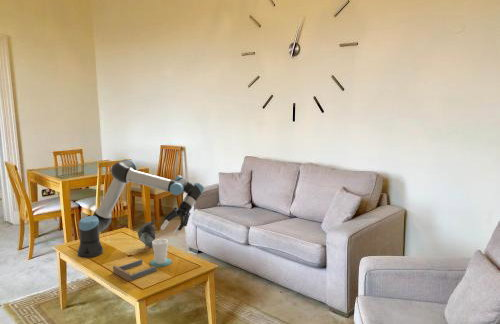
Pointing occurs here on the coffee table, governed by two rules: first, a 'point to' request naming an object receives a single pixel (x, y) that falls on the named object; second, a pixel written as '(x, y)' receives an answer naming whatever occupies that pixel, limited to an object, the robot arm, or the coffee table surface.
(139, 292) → the coffee table surface
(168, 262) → the teal mat
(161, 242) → the foam cup
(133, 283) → the coffee table surface
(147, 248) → the grey rock
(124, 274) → the cup lane
